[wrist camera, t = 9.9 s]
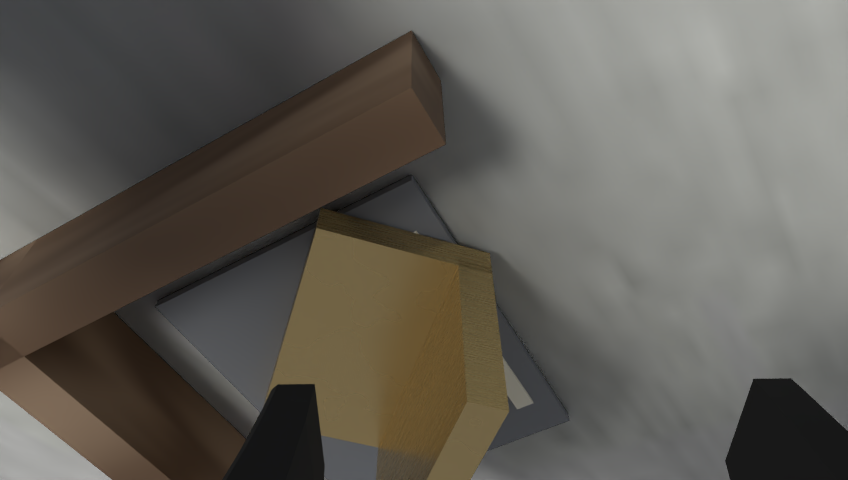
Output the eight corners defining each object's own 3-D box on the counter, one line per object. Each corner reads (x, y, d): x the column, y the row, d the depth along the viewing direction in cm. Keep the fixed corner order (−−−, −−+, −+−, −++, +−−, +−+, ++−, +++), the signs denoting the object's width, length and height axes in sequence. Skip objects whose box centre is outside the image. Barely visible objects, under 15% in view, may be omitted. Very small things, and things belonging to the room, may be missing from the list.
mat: (158, 301, 23) (154, 309, 23) (411, 174, 20) (411, 181, 20) (350, 495, 28) (349, 504, 28) (567, 413, 26) (570, 422, 26)
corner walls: (-1, 260, 22) (-63, 340, 19) (411, 30, 18) (411, 87, 15) (278, 512, 29) (263, 599, 26) (617, 384, 25) (642, 469, 22)
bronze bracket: (407, 430, 26) (403, 597, 21) (264, 399, 25) (225, 565, 20) (489, 253, 21) (509, 411, 17) (320, 207, 21) (288, 360, 16)
